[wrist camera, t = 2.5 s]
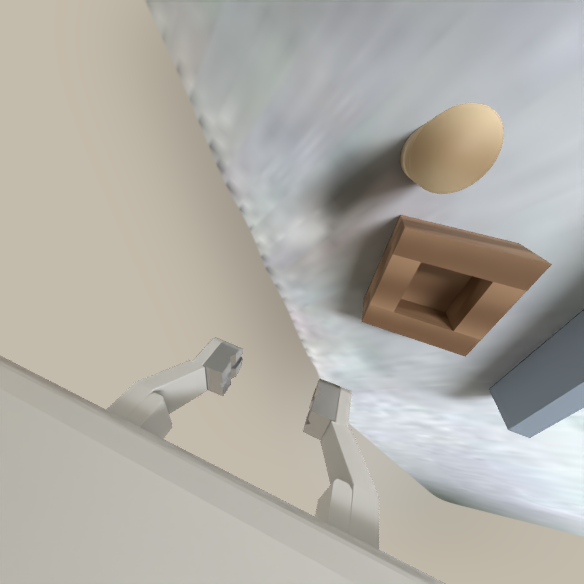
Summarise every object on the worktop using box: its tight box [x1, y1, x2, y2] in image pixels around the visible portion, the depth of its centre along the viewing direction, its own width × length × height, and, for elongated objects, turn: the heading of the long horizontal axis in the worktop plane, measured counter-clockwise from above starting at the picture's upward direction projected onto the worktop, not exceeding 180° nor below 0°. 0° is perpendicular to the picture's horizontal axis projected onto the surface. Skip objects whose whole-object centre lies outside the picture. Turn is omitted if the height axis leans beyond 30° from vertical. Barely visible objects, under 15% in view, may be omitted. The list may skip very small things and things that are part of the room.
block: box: [362, 215, 552, 356], centre depth 21 cm, size 10×10×4 cm
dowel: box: [400, 103, 504, 194], centre depth 15 cm, size 4×4×8 cm
